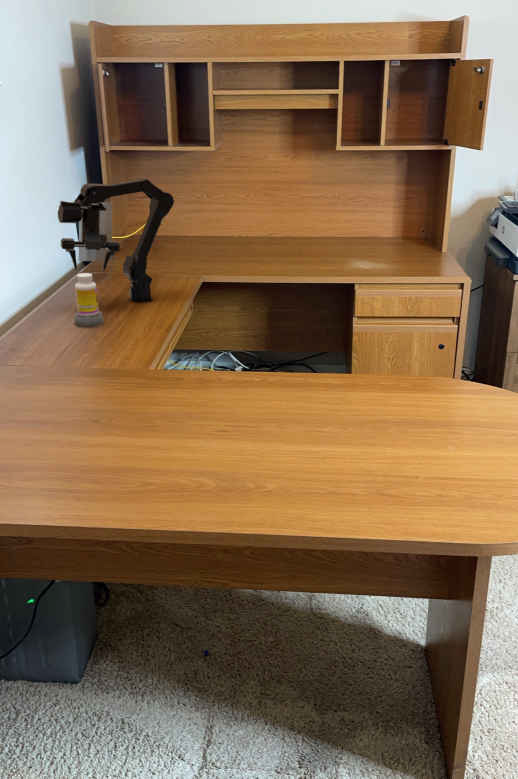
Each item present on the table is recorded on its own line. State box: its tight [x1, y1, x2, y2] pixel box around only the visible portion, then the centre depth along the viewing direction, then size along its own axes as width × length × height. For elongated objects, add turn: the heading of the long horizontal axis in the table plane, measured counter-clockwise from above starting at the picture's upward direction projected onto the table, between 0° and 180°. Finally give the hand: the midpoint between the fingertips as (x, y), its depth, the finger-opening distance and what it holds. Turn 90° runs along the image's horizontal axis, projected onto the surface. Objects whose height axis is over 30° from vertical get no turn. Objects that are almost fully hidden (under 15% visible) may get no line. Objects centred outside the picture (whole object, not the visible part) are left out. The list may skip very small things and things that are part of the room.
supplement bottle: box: [74, 272, 100, 317], centre depth 225 cm, size 7×7×13 cm
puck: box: [73, 310, 104, 328], centre depth 228 cm, size 9×9×3 cm
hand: (89, 270), depth 240 cm, fingers open, 9 cm apart
